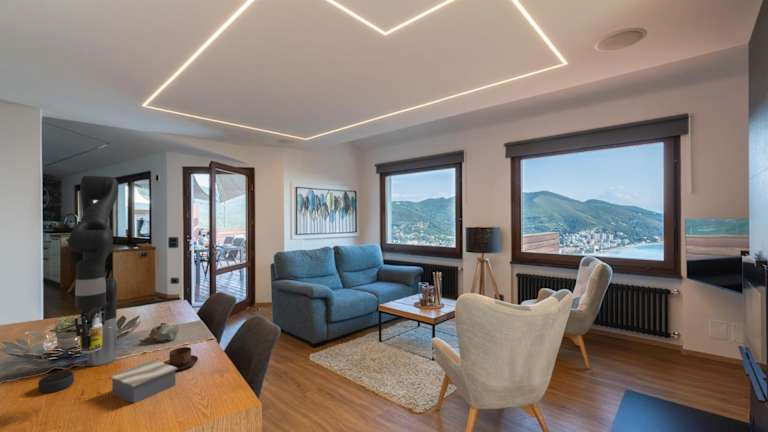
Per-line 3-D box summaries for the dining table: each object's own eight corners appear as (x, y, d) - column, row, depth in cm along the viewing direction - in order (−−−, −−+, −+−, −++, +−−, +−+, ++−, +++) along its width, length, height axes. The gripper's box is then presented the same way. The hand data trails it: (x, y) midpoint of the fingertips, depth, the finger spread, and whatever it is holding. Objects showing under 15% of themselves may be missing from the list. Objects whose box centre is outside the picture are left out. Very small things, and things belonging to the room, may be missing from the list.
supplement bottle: (78, 355, 107) (77, 322, 107) (81, 349, 112) (81, 317, 112) (101, 351, 110) (100, 319, 110) (103, 345, 115) (103, 315, 115)
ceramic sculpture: (173, 324, 159) (137, 328, 156) (175, 343, 159) (138, 347, 156) (182, 317, 169) (148, 321, 166) (183, 335, 170) (149, 339, 166)
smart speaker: (78, 385, 120) (78, 374, 120) (43, 397, 113) (43, 384, 113) (68, 379, 125) (68, 368, 125) (34, 390, 117) (34, 378, 117)
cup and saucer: (204, 363, 138) (204, 347, 138) (175, 375, 127) (175, 359, 127) (184, 357, 143) (184, 343, 143) (155, 369, 132) (155, 353, 132)
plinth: (109, 394, 114) (109, 376, 114) (154, 376, 126) (154, 360, 126) (133, 404, 107) (132, 385, 107) (177, 384, 120) (177, 367, 120)
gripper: (93, 296, 105) (93, 351, 106) (114, 286, 119) (115, 335, 119) (63, 298, 103) (63, 354, 103) (88, 288, 117) (89, 337, 117)
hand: (91, 343), depth 111 cm, fingers closed on supplement bottle, 5 cm apart
